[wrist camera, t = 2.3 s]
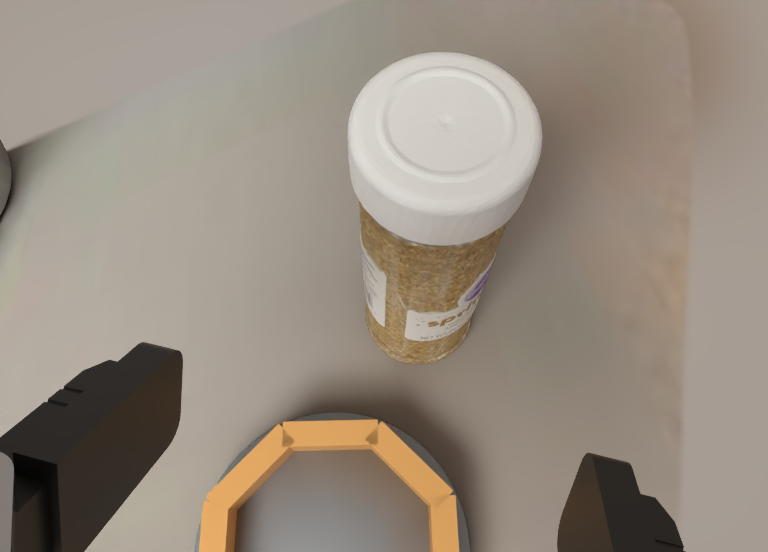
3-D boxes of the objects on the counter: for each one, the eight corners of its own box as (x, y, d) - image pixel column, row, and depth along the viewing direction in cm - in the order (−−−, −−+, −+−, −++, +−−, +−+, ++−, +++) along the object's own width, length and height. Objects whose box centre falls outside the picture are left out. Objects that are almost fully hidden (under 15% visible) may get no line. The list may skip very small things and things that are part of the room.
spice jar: (454, 381, 25) (520, 235, 13) (349, 347, 26) (315, 175, 13) (482, 283, 27) (566, 69, 14) (384, 253, 27) (382, 23, 15)
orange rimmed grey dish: (142, 555, 23) (121, 558, 21) (335, 364, 25) (330, 351, 23) (331, 787, 20) (326, 814, 18) (523, 546, 23) (535, 547, 21)
